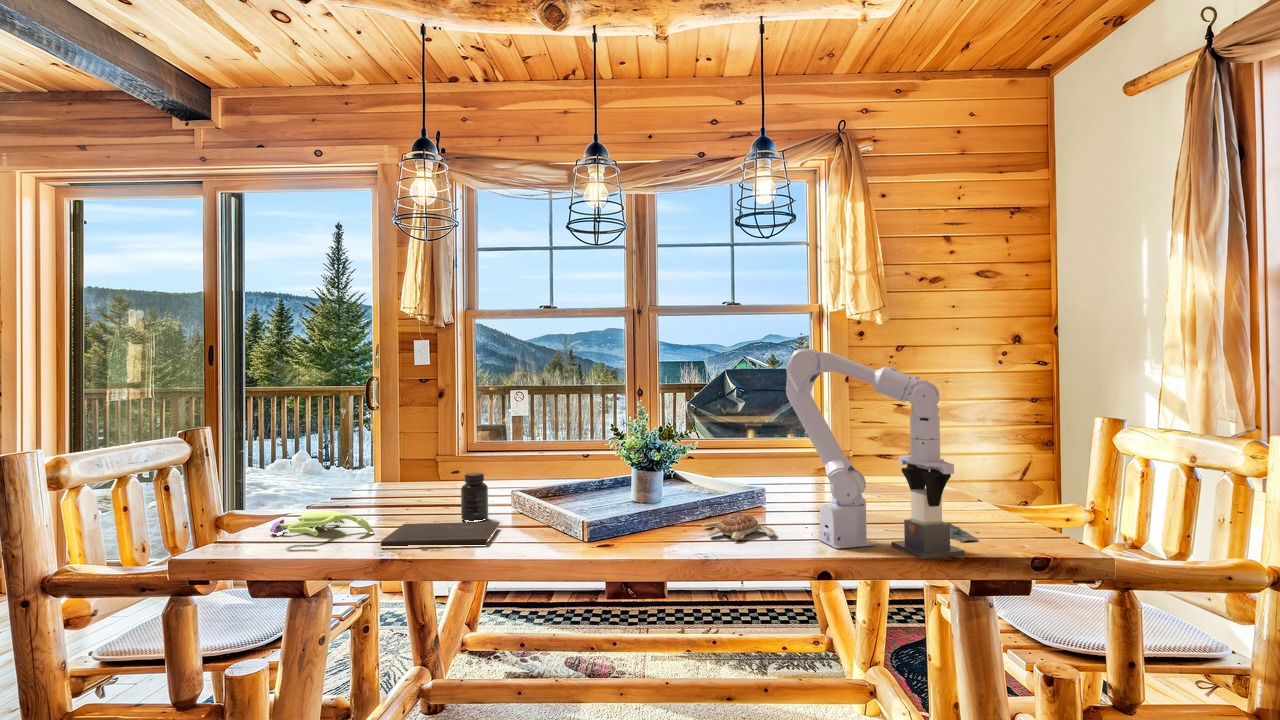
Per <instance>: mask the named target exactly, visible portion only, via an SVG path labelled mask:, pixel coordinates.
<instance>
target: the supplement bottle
mask: <svg viewBox="0 0 1280 720" xmlns="http://www.w3.org/2000/svg"><path fill="white" fill-rule="evenodd" d="M484 481H485V477H484V473H483V472H471V473H469V472H468V473H465V474H464V482H465V483H464V484H463V485H462V486H461V489H460V503H461V505H460V508H461V509H460V512H461V513H460V515H461V516H460V517H461V520H462V519H463V520H469V521H474V520H483V519H487V518H489V488H488V485H487V484H486V483H484ZM487 520H488V519H487Z"/></svg>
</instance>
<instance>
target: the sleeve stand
mask: <svg viewBox="0 0 1280 720" xmlns="http://www.w3.org/2000/svg"><path fill="white" fill-rule="evenodd" d="M903 522H904V523H903V524H904V525H903V526H904V528H903V530H904V533H903V534H904V540H896V541H891V542H890V544H891V547H892V548H894V549H896V548H897V550H899V551H901V550H902V551H901V552H903V551H904V553H905V554H908V555H911V556H914V557H915V558H918V559H920V560H931V559H940V558H941V559H942V558H954V557H963V556H965V557H966V551H965V549H961V548H959V547H957V546H953V545H951V538H950V524H947V523H948V522H944V521H943V524H938V525H926V526H924V525H921V524H918V523H915V522H912V521H911V518H908V519H904V520H903Z"/></svg>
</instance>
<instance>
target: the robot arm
mask: <svg viewBox="0 0 1280 720" xmlns="http://www.w3.org/2000/svg"><path fill="white" fill-rule="evenodd" d="M785 370H786V386H785V389H786V390H785V394H786V398H787V399H788V401H789V403H790V405H791V407H792V408H793V410H794V413H795V414H796V416H797V417H798V420H799V421H800V424H801V425H802V426H803V428H804V431H805V432H806V434H807V436H808V438H809V440H810V442H811V443H812V445H813V447H814V448H815V451H816V453H817V454H818V456H819V458H820V460H821V462H822V464H823V465H824V469H825V474H826V477H827V479H828V481H829V484H830V493H831V495H832V498H831V501H830V502H828V503H824V504H823V505H821V507H820V510H819V537H818V538H817V539H818V541H820V542H822V543H824V544H826V545H828V546H830V547H833V548H835V549H849V548H851V549H852V548H859V547H872V546H876V542H874V541H871V540H869V539H868V537H867V535H868V534H867V533H868V532H867V500H866V499H865V498H864V496H863V495H862V494H863V493H864V491H865V489H866V486H867V484H866V483H867V482H866V479H865V477H864V475H863V473H862V472H860V471H859V470H857V469H856V468H855V467H854V465H853V464H852V462H851V461H850V459H848V457H847V456H846V455H845V454H844V451H843V450H842V448H841V446H840V444H839V443H838V441H837V439H836V438H835V436H834V433H833V431H832V430H831V428H830V427H829V425H828V423H827V421H826V419H825V417H824V416H823V414H822V412H821V410H820V409H819V407H818V405H817V403H816V401H815V400H814V398H813V396H812V393H811V392H812V390H813V387H814V385H815V381H816V380H817V378H819V376H820V375H821V373H832V372H837V373H840V374H843V375H845V376H849V377H851V378H855V379H856V380H857V379H858V380H861V381H863V382H867V383H870V384H871V386H872V388H873V390H874V391H875V393H879V394H881V395H884V396H887V397H889V398H892V399H893V400H897V401H899V402H902V403H905V402H909V403H910V411H911V412H910V413H911V414H910V416H909V433H910V434H909V438H910V439H909V441H910V443H909V444H910V455H908V454H904V455H899V465H901V466H902V465H903V466H905V465H906V467H902V468H901V472H902V474H903V476H904V477H905V479H906V482H907V484H908V487H909V490H910V491H911V490H914V489H926V490H927V501H928V505H929V506H939V504H940V500H941V496H942V497H943V492H944V490H945V487H946V485H947V483H948V481H949V480H950V479H951V477H952V475H954V474H955V464H954V463H951V462H948V461H945V459H944V458H941V432H940V431H941V425H940V424H941V422H940V420H941V419H940V416H939V414H940V408H939V406H938V404H939V402H940V398H941V397H940V391H939V389H938V387H937V386H936V385H935V384H934V383H932V382H930V381H929V380H926V379H925V380H920V376H918V375H914V376H912V375H911V374H910V375H909V374H907V373H903V372H901V371H898V368H897V367H895V366H890V367H888V366H883V367H880V368H879V369H874V368H872V367H869V366H866V365H864V364H862V363H858V362H856V361H854V360H851V359H848V358H846V357H843V356H841V355H839V354H836V353H829V352H824V351H820V350H819V351H818V350H817V349H809V348H804V347H803V348H799V349H797V350H795V351H793V352H792V354H791V355H790V358H789V359H788V362H787V363H786V365H785Z"/></svg>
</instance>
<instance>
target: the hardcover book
mask: <svg viewBox="0 0 1280 720" xmlns="http://www.w3.org/2000/svg"><path fill="white" fill-rule="evenodd" d="M499 525H500V521H482V522H467V523H466V522H429V523H428V522H427V523H426V522H422V523H403V524H402V525H400V526H399V527H398V528H396V529H395V530H394V531H392V532H391V533H390V534H389V535H387V536H385V538H383V539H382V540H381V541H380V547H381V546H408V545H486V544H487V541H488V539H489V538H490V537H491V535H492V534H493V533H494V531H495V530H496V529H497V527H498V528H499ZM487 545H488V544H487Z"/></svg>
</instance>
